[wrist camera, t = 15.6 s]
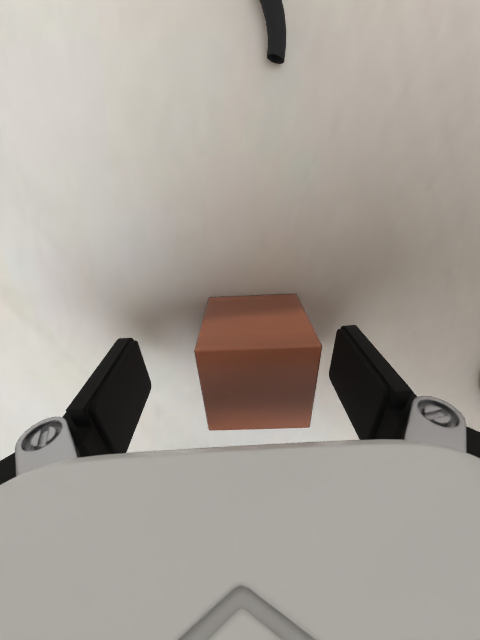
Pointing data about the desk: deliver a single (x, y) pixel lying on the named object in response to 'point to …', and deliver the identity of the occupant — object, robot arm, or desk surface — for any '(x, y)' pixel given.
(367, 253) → the desk surface
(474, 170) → the desk surface
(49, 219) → the desk surface
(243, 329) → the block
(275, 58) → the game controller
